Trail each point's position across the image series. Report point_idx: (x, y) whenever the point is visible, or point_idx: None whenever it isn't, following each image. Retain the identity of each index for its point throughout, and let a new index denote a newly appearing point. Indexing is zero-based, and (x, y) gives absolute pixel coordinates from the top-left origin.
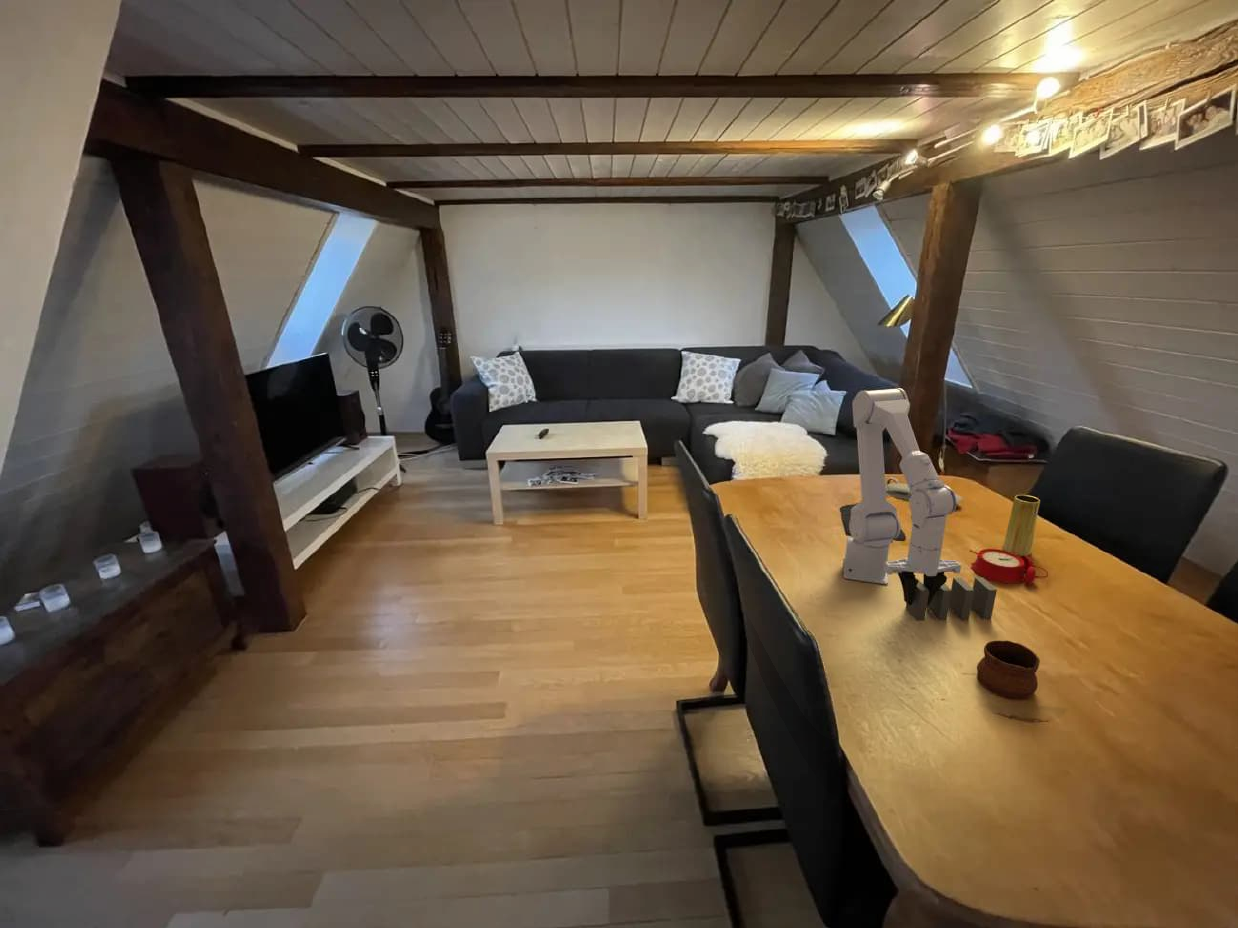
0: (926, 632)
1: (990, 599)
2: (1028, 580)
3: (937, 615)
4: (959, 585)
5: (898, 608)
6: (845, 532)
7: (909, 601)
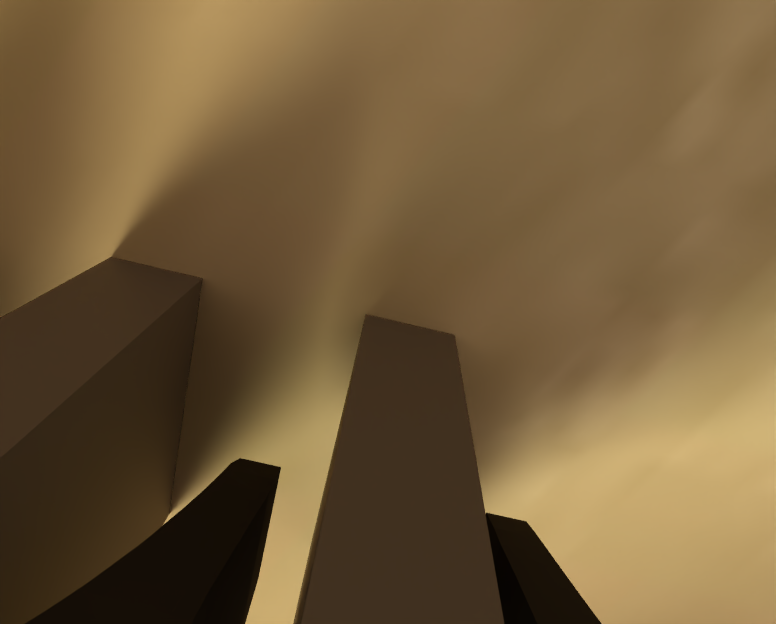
0: (517, 99)
1: None
2: None
3: (183, 328)
4: None
5: None
6: None
7: (552, 558)
